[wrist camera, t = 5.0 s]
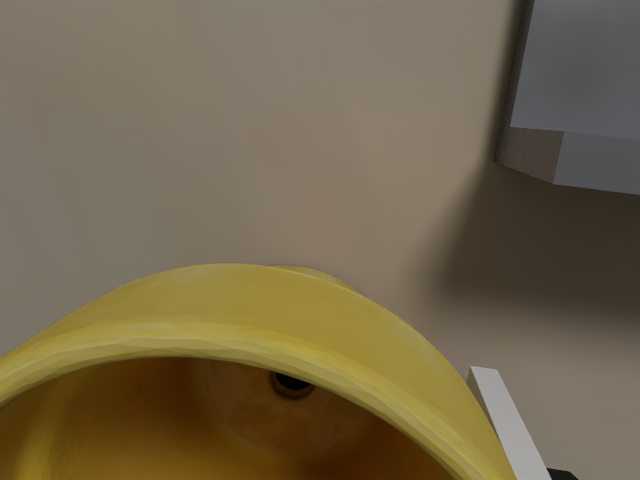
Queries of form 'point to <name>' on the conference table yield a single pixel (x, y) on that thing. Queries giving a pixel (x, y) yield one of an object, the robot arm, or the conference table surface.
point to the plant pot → (238, 387)
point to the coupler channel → (575, 95)
